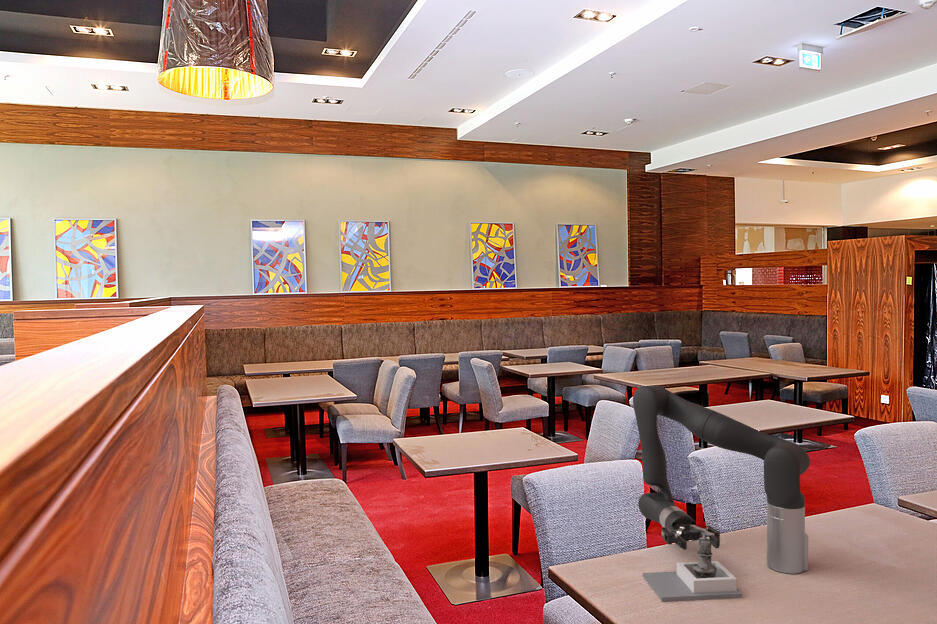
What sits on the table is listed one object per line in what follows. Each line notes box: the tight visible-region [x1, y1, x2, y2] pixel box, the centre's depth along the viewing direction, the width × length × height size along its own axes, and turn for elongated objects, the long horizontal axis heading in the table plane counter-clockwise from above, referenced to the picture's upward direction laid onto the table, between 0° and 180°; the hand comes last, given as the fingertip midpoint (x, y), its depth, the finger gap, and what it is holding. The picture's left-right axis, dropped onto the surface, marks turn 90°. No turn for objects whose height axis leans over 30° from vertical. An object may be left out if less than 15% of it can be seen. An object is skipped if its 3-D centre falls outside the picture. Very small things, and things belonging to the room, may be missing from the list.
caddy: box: [642, 560, 743, 602], centre depth 171 cm, size 20×14×4 cm
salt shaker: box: [693, 536, 717, 579], centre depth 171 cm, size 6×6×12 cm
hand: (701, 545), depth 173 cm, fingers open, 8 cm apart
